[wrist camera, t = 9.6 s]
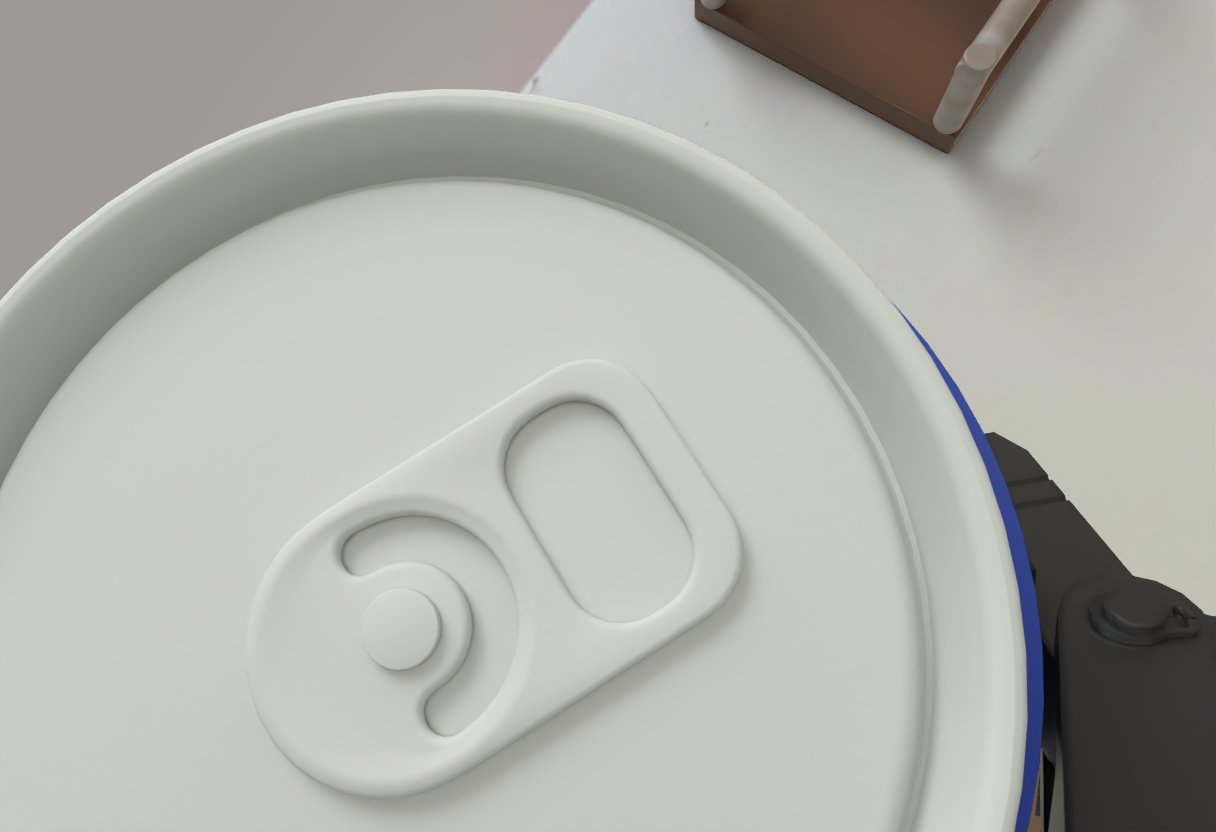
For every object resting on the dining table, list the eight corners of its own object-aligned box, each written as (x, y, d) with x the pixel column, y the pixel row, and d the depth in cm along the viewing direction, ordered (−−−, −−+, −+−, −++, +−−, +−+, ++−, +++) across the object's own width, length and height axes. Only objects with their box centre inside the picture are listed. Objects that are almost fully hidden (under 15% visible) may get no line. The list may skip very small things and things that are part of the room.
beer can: (791, 848, 19) (1262, 1933, 3) (415, 786, 20) (-592, 1388, 4) (822, 464, 21) (1221, -13, 5) (476, 426, 22) (-75, -70, 6)
